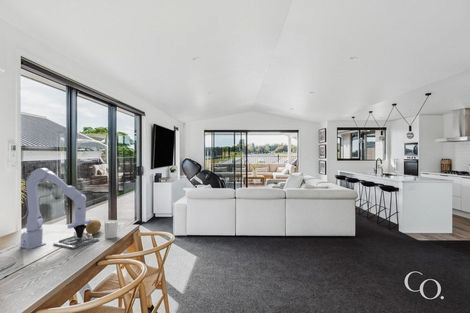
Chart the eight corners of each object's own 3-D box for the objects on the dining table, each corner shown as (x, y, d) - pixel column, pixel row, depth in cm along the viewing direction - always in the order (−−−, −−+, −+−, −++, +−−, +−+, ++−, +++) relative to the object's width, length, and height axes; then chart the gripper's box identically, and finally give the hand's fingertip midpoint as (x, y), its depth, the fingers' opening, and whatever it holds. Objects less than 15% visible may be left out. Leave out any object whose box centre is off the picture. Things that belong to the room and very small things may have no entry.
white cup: (114, 234, 180) (115, 219, 180) (119, 237, 174) (120, 221, 174) (102, 236, 175) (102, 221, 174) (106, 239, 169) (107, 223, 169)
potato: (102, 229, 190) (102, 216, 190) (98, 236, 175) (98, 222, 175) (88, 230, 187) (89, 216, 187) (83, 237, 172) (83, 222, 172)
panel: (73, 249, 151) (74, 240, 151) (53, 245, 156) (53, 236, 156) (98, 240, 167) (99, 232, 167) (79, 237, 172) (79, 229, 172)
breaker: (82, 239, 164) (82, 233, 164) (79, 239, 164) (79, 233, 164) (86, 238, 166) (86, 232, 166) (83, 238, 167) (83, 231, 167)
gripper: (74, 218, 155) (73, 242, 155) (95, 213, 169) (94, 235, 169) (65, 216, 157) (64, 240, 158) (86, 212, 171) (86, 233, 171)
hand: (79, 237), depth 163 cm, fingers closed
